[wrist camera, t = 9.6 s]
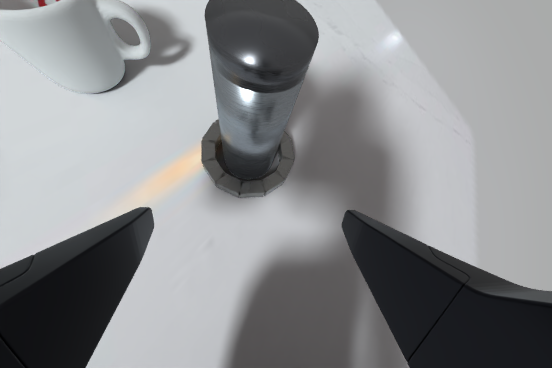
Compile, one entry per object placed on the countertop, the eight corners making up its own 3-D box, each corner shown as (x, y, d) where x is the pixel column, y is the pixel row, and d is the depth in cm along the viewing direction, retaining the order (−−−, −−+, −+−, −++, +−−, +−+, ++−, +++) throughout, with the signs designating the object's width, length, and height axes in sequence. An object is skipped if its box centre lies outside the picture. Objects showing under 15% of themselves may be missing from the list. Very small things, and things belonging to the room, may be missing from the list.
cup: (165, 50, 23) (132, -45, 16) (164, 104, 21) (125, 22, 14) (54, 44, 21) (-45, -71, 14) (39, 105, 19) (-92, 6, 11)
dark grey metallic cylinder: (281, 163, 21) (339, 43, 9) (242, 188, 19) (251, 82, 7) (254, 129, 22) (274, -23, 10) (214, 150, 20) (180, -2, 8)
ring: (295, 194, 20) (299, 190, 19) (203, 200, 18) (201, 196, 17) (284, 121, 23) (287, 113, 22) (204, 119, 21) (201, 111, 20)
